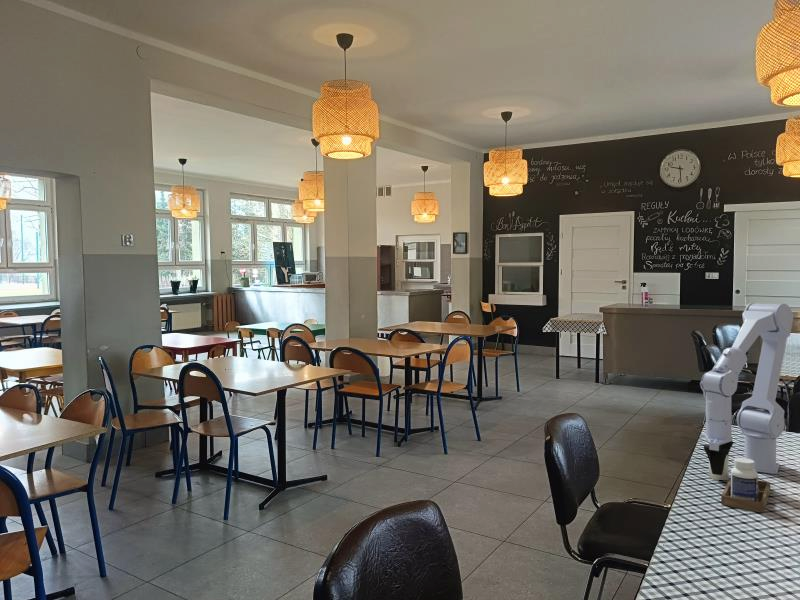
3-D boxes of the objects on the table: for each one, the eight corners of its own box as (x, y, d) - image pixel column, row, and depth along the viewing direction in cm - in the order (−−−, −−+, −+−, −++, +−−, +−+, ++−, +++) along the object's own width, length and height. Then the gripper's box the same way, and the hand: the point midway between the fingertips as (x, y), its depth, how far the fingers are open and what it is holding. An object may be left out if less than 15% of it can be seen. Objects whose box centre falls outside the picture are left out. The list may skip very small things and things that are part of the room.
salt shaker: (710, 473, 152) (710, 448, 152) (729, 476, 150) (729, 450, 149) (707, 478, 149) (707, 452, 148) (727, 481, 146) (727, 455, 146)
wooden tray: (731, 483, 145) (731, 475, 145) (770, 490, 140) (770, 482, 140) (721, 504, 132) (721, 495, 132) (763, 512, 127) (763, 503, 127)
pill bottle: (762, 507, 130) (762, 464, 129) (735, 506, 131) (735, 463, 130) (752, 498, 135) (752, 457, 135) (727, 497, 136) (727, 456, 136)
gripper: (706, 411, 157) (706, 461, 157) (695, 422, 145) (696, 476, 146) (736, 414, 153) (736, 465, 153) (727, 426, 141) (728, 482, 141)
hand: (718, 471), depth 149 cm, fingers closed on salt shaker, 4 cm apart
